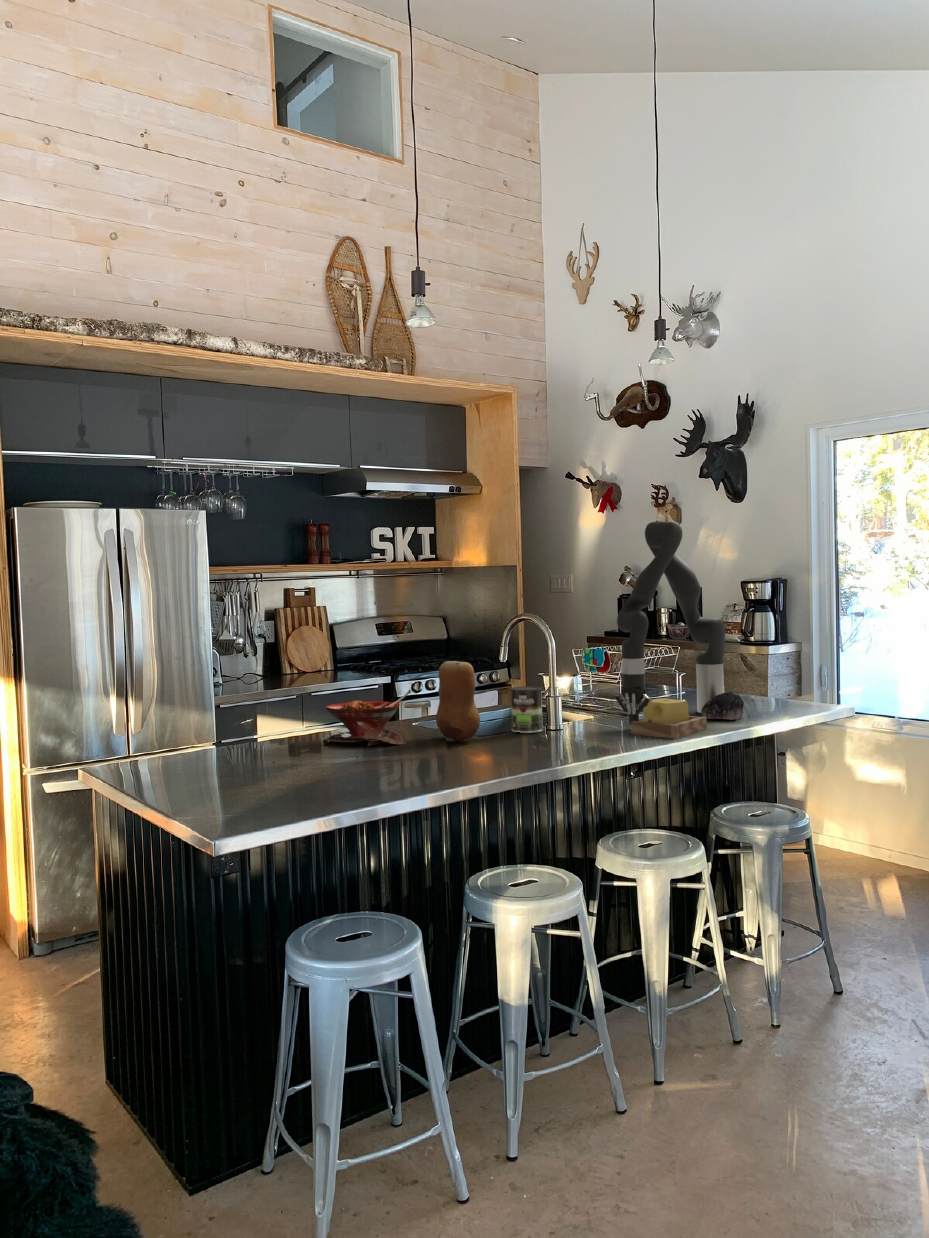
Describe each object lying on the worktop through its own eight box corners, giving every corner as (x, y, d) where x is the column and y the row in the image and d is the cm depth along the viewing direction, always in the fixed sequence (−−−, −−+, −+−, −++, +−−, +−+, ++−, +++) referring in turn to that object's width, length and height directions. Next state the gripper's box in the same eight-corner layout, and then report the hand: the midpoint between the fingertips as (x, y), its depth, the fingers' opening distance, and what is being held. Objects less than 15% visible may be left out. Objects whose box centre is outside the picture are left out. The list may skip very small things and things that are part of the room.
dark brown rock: (694, 719, 325) (693, 690, 325) (728, 716, 330) (727, 687, 329) (717, 725, 313) (716, 694, 312) (751, 721, 317) (751, 691, 317)
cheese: (641, 731, 304) (641, 700, 304) (667, 727, 310) (666, 697, 309) (664, 735, 295) (664, 703, 295) (690, 731, 301) (689, 700, 300)
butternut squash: (482, 735, 306) (479, 658, 305) (478, 743, 293) (476, 662, 292) (439, 736, 308) (436, 659, 306) (434, 744, 294) (431, 663, 293)
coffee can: (539, 733, 307) (538, 689, 307) (508, 733, 310) (506, 689, 310) (546, 728, 317) (544, 686, 316) (515, 728, 320) (514, 686, 319)
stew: (413, 734, 314) (412, 686, 313) (410, 747, 290) (408, 695, 289) (328, 737, 314) (326, 689, 313) (318, 751, 290) (316, 698, 289)
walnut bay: (661, 725, 314) (661, 713, 314) (706, 729, 303) (706, 717, 303) (631, 734, 300) (630, 721, 299) (677, 738, 289) (676, 725, 289)
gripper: (657, 672, 307) (657, 725, 308) (622, 670, 316) (622, 722, 317) (644, 674, 302) (645, 728, 302) (609, 672, 310) (610, 725, 311)
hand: (633, 725), depth 309 cm, fingers closed
